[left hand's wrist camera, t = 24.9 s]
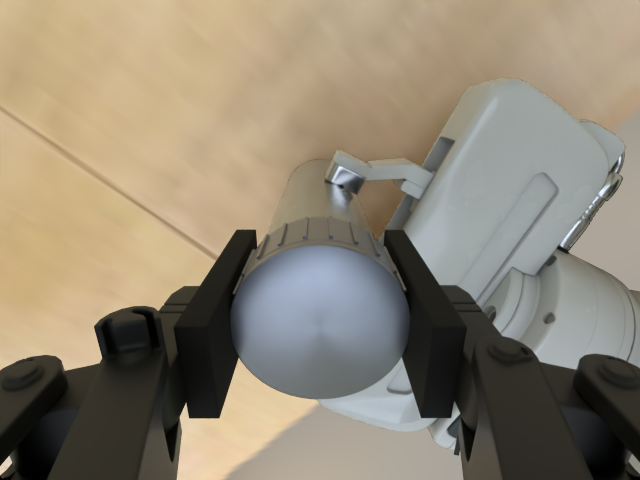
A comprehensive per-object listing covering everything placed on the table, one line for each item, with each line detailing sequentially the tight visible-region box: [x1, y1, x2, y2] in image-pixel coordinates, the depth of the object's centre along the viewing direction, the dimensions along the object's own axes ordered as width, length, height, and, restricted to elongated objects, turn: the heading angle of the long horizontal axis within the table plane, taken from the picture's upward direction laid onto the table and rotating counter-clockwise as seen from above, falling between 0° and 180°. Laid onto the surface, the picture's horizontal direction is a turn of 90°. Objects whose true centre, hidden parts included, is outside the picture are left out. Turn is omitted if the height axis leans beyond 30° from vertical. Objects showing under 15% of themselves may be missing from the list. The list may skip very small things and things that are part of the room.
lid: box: [229, 216, 411, 399], centre depth 11 cm, size 5×5×2 cm
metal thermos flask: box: [267, 159, 374, 236], centre depth 18 cm, size 5×5×16 cm
